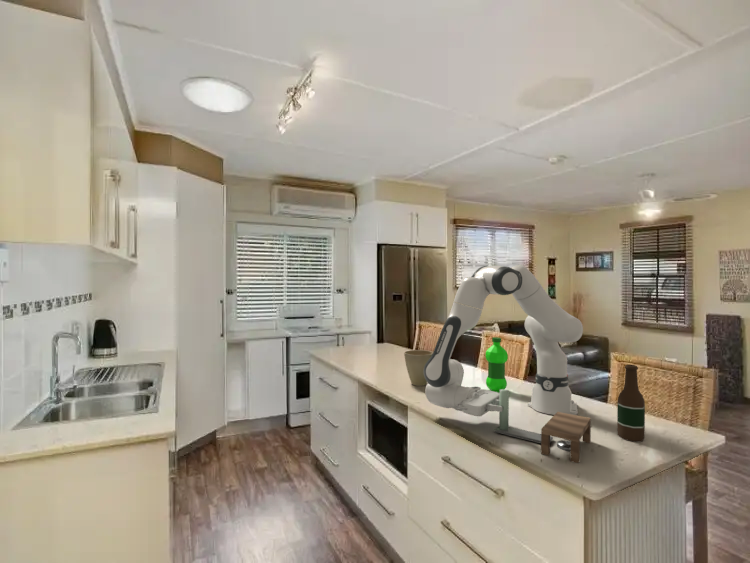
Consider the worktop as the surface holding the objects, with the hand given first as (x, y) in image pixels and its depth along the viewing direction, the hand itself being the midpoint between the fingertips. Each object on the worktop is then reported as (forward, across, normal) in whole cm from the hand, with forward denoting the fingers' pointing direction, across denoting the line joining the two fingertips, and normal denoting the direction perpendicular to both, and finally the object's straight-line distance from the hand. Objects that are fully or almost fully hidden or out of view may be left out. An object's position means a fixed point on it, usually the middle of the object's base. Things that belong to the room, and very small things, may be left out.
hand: (505, 407), depth 135 cm
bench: (+20, 0, +8) cm, 21 cm away
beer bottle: (+34, +22, +9) cm, 42 cm away
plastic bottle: (-22, +50, +9) cm, 55 cm away
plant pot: (-57, +37, +9) cm, 68 cm away
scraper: (+6, 0, +8) cm, 10 cm away
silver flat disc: (+20, 0, +9) cm, 21 cm away
